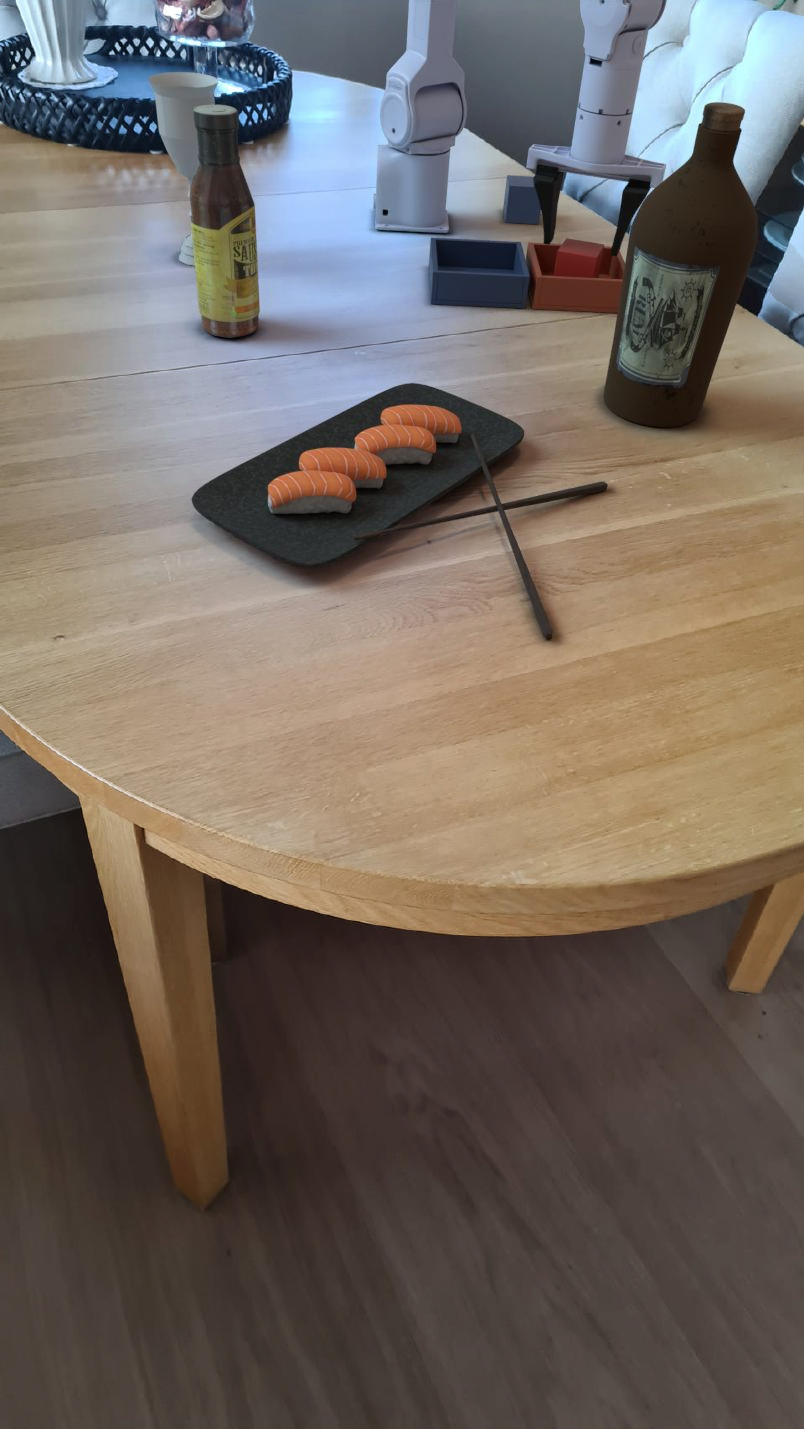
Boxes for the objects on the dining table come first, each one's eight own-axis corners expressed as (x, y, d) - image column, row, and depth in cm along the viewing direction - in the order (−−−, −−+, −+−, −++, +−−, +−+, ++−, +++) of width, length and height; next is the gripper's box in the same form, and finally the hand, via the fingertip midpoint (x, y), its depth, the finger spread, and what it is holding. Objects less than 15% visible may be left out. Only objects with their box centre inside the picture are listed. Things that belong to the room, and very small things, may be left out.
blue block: (505, 222, 128) (509, 185, 125) (502, 211, 131) (506, 175, 128) (538, 224, 128) (544, 187, 125) (535, 213, 131) (540, 176, 128)
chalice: (237, 250, 116) (224, 75, 104) (224, 271, 111) (209, 90, 99) (177, 245, 117) (157, 70, 104) (162, 265, 112) (139, 85, 99)
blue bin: (430, 304, 108) (432, 272, 105) (428, 268, 115) (430, 237, 113) (525, 308, 108) (529, 276, 106) (517, 272, 116) (521, 242, 113)
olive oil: (618, 369, 98) (681, 83, 80) (720, 398, 95) (808, 105, 77) (579, 411, 91) (638, 108, 74) (687, 443, 88) (775, 134, 70)
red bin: (532, 309, 108) (537, 277, 106) (523, 273, 116) (528, 242, 113) (626, 313, 108) (633, 282, 106) (612, 277, 116) (618, 246, 114)
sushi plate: (409, 395, 92) (411, 356, 89) (691, 516, 79) (703, 475, 77) (177, 518, 76) (171, 475, 73) (485, 696, 63) (492, 653, 60)
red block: (551, 291, 111) (557, 250, 107) (559, 278, 114) (566, 237, 111) (589, 298, 110) (597, 257, 107) (597, 284, 113) (604, 244, 110)
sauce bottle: (250, 344, 98) (235, 122, 84) (191, 336, 99) (167, 115, 85) (269, 319, 103) (258, 104, 89) (213, 311, 103) (194, 97, 89)
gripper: (681, 109, 100) (650, 246, 110) (545, 90, 103) (527, 225, 113) (671, 125, 95) (640, 267, 105) (529, 105, 98) (512, 245, 108)
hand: (581, 247), depth 108 cm, fingers open, 7 cm apart
